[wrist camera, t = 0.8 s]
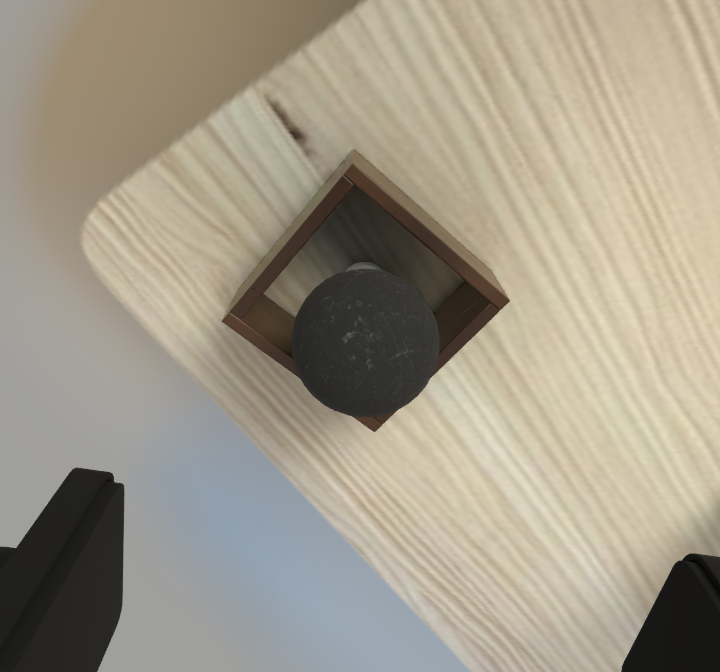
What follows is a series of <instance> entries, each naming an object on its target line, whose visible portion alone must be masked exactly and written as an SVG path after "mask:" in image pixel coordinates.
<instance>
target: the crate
mask: <svg viewBox="0 0 720 672" xmlns="http://www.w3.org/2000/svg"><path fill="white" fill-rule="evenodd" d="M354 184H355V185H356V186H357V187H358V188H360V189H361V190H362V191H363V192H364V193H365V194H366V195H368V196H369V197H370V198H371V199H372V200H373V201H375V202H376V203H377V204H378V205H379V206H380V207H381V208H383V209H384V210H385V211H386V212H387V213H388V214H390V215H391V216H392V217H393V218H394V219H395V220H396V221H398V222H399V223H400V224H401V225H402V226H403V227H405V228H406V229H407V230H408V231H409V232H410V233H412V234H413V235H414V236H415V237H416V238H417V239H418V240H420V241H421V242H422V243H423V244H424V245H425V246H427V247H428V248H429V249H430V250H431V251H432V252H433V253H435V254H436V255H437V256H438V257H439V258H440V259H442V260H443V261H444V262H445V263H446V264H447V265H448V266H450V267H451V268H452V269H453V270H454V271H455V272H457V273H458V274H459V275H460V276H461V277H462V278H464V279H465V280H466V282H465V283H464V284H463V285H462V286H461V287H460V288H459V289H458V290H457V291H456V292H455V293H454V294H453V295H452V296H451V297H450V298H449V299H448V300H447V301H446V302H445V303H444V304H443V305H442V306H441V307H440V308H439V309H438V310H437V311H436V312H435V313H434V317H435V319H436V322H437V326H438V333H439V340H440V341H439V355H438V359H437V364H436V368H435V370H434V372H433V374H432V376H433V375H434V374H435V373H436V372H437V371H438V370H439V369H440V368H441V367H443V366H444V365H445V364H446V363H447V362H448V361H449V360H450V359H451V358H452V357H453V356H454V355H455V354H456V353H457V352H458V351H459V350H460V349H461V348H462V347H463V346H464V345H465V344H466V343H467V342H468V341H469V340H470V339H471V338H472V337H473V336H475V335H476V334H477V333H478V332H479V331H480V330H481V329H482V328H483V327H484V326H485V325H486V324H487V323H488V322H489V321H490V320H491V319H492V318H493V317H494V316H495V315H496V314H497V313H498V312H499V311H500V310H501V309H502V308H503V307H504V306H505V305H506V304H507V303H508V302H509V301H510V300H509V298H508V296H507V295H506V293H505V291H504V290H503V288H502V287H501V285H500V283H499V282H498V280H497V278H496V277H495V275H494V274H493V272H492V270H491V269H489V268H488V267H487V266H486V265H485V264H484V263H483V262H482V261H480V260H479V259H478V258H477V257H476V256H475V255H474V254H473V253H471V252H470V251H469V250H468V249H467V248H466V247H465V246H464V245H462V244H461V243H460V242H459V241H458V240H457V239H456V238H455V237H453V236H452V235H451V234H450V233H449V232H448V231H447V230H446V229H444V228H443V227H442V226H441V225H440V224H439V223H438V222H436V221H435V220H434V219H433V218H432V217H431V216H430V215H429V214H427V213H426V212H425V211H424V210H423V209H422V208H421V207H420V206H418V205H417V204H416V203H415V202H414V201H413V200H412V199H411V198H409V197H408V196H407V195H406V194H405V193H404V192H403V191H402V190H400V189H399V188H398V187H397V186H396V185H395V184H394V183H392V182H391V181H390V180H389V179H388V178H387V177H386V176H385V175H383V174H382V173H381V172H380V171H379V170H378V169H377V168H376V167H374V166H373V165H372V164H371V163H370V162H369V161H368V160H367V159H365V158H364V157H363V156H362V155H361V154H360V153H359V152H358V151H356V150H355V149H353V150H352V151H351V153H350V154H349V155H348V156H347V157H346V160H344V161H343V162H342V163H341V165H340V166H339V167H338V168H337V170H336V171H335V172H334V173H333V174H332V176H331V177H330V178H329V179H328V181H327V182H326V183H325V184H324V185H323V187H322V188H321V189H320V190H319V191H318V193H317V194H316V195H315V196H314V198H313V199H312V200H311V201H310V202H309V204H308V205H307V206H306V207H305V208H304V210H303V211H302V212H301V213H300V215H299V216H298V217H297V218H296V219H295V221H294V222H293V223H292V224H291V226H290V227H289V228H288V229H287V230H286V232H285V233H284V234H283V235H282V236H281V238H280V239H279V240H278V241H277V243H276V244H275V245H274V246H273V247H272V249H271V250H270V251H269V252H268V253H267V255H266V256H265V257H264V258H263V260H262V261H261V262H260V263H259V264H258V266H257V267H256V268H255V269H254V271H253V272H252V273H251V274H250V275H249V277H248V278H247V279H246V280H245V282H244V283H243V284H242V285H241V286H240V288H239V289H238V291H237V293H236V295H235V296H234V298H233V300H232V302H231V304H230V306H229V308H228V310H227V312H226V314H225V316H224V318H223V320H222V322H223V323H225V324H226V325H227V326H229V327H230V328H231V329H233V330H234V331H236V332H237V333H238V334H240V335H241V336H242V337H244V338H245V339H247V340H248V341H249V342H251V343H252V344H253V345H255V346H256V347H258V348H259V349H260V350H262V351H263V352H264V353H266V354H267V355H269V356H270V357H271V358H273V359H274V360H276V361H277V362H278V363H280V364H281V365H282V366H284V367H285V368H287V369H288V370H289V371H291V372H292V373H293V374H295V375H296V376H298V377H299V378H300V376H299V374H298V372H297V370H296V366H295V363H294V359H293V355H292V332H293V328H294V322H295V320H296V319H295V318H293V317H292V316H291V315H290V314H288V313H287V312H286V311H284V310H283V309H282V308H280V307H279V306H278V305H276V304H275V303H274V302H272V301H271V300H270V299H268V298H267V297H266V296H264V295H263V293H264V292H265V291H266V289H267V288H268V287H269V286H270V285H271V283H272V282H273V281H274V280H275V279H276V277H277V276H278V275H279V274H280V273H281V272H282V270H283V269H284V268H285V267H286V266H287V264H288V263H289V262H290V261H291V260H292V258H293V257H294V256H295V255H296V254H297V253H298V251H299V250H300V249H301V248H302V247H303V245H304V244H305V243H306V242H307V241H308V240H309V238H310V237H311V236H312V235H313V234H314V232H315V231H316V230H317V229H318V228H319V226H320V225H321V224H322V223H323V222H324V221H325V219H326V218H327V217H328V216H329V215H330V213H331V212H332V211H333V210H334V209H335V207H336V206H337V205H338V204H339V203H340V202H341V200H342V199H343V198H344V197H345V196H346V194H347V193H348V192H349V191H350V190H351V189H352V187H353V186H354ZM499 309H500V310H499ZM432 376H431V377H432ZM300 379H301V378H300ZM396 411H397V410H396ZM396 411H395V412H396ZM395 412H392V413H388V414H385V415H380V416H376V417H354V418H355V419H357V420H358V421H360V422H361V423H362V424H364V425H365V426H366V427H368V428H369V429H371V430H372V431H373V432H375V431H376V430H377V429H379V428H380V427H381V426H382V424H384V423H385V422H386V421H387V420H388V419H389V418H390V417H391V416H392V415H393V414H394V413H395Z"/></svg>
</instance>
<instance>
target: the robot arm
mask: <svg viewBox="0 0 720 672" xmlns="http://www.w3.org/2000/svg"><path fill="white" fill-rule="evenodd" d="M123 534H124V485H123V484H121V483H115V482H114V476H113V474H112V473H110V472H104V471H96V470H90V469H83V468H75V469H73V470H72V471H71V472H70V473H69V475H68V476H67V477H66V479H65V480H64V482H63V483H62V485H61V486H60V487H59V489H58V490H57V492H56V493H55V494H54V496H53V497H52V498H51V500H50V501H49V503H48V504H47V506H46V507H45V509H44V510H43V511H42V513H41V514H40V516H39V517H38V518H37V520H36V521H35V523H34V524H33V525H32V527H31V528H30V530H29V531H28V533H27V534H26V535H25V537H24V538H23V539H22V541H21V542H20V544H19V545H18V546H17V548H10V547H0V672H97V671H98V668H99V666H100V664H101V661H102V659H103V657H104V654H105V652H106V650H107V648H108V645H109V643H110V641H111V638H112V636H113V634H114V631H115V629H116V626H117V624H118V621H119V617H120V613H121V609H122V596H123V595H122V594H123V537H124V535H123ZM621 672H720V557H716V556H708V555H701V554H688V555H687V556H685V557H684V559H683V560H682V561H678V562H676V563H675V565H674V566H673V568H672V570H671V572H670V574H669V576H668V578H667V580H666V582H665V584H664V586H663V587H662V589H661V591H660V593H659V595H658V597H657V599H656V601H655V603H654V605H653V607H652V609H651V611H650V613H649V615H648V617H647V618H646V620H645V622H644V624H643V626H642V628H641V630H640V632H639V634H638V636H637V638H636V640H635V642H634V644H633V646H632V648H631V650H630V651H629V653H628V655H627V657H626V659H625V661H624V663H623V666H622V671H621Z"/></svg>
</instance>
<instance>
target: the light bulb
mask: <svg viewBox="0 0 720 672" xmlns="http://www.w3.org/2000/svg"><path fill="white" fill-rule="evenodd" d="M439 341H440V340H439V333H438V326H437V322H436V319H435V317H434V314H433V312H432V309H431V308H430V306H429V304H428V303H427V301H426V300H425V299H424V297H423V296H422V295H421V293H420V292H419V291H418V290H417V289H416V288H414V287H413V286H412V285H411V284H410V283H409V282H407V281H405V280H404V279H402V278H401V277H399V276H396V275H393V274H391V273H389V272H386V271H384V270H383V269H382V268H381V267H380V266H378V265H376V264H374V263H371V262H358V263H355V264H353V265H351V266H349V267H348V268H347V269H346V270H345V271H344V272H343V273H340V274H337V275H335V276H333V277H331V278H329V279H327V280H325V281H324V282H323V283H321V284H320V285H319V286H318V287H316V288H315V289H314V290H313V291H312V292H311V294H310V295H309V296H308V297H307V298H306V300H305V301H304V303H303V305H302V307H301V308H300V310H299V312H298V314H297V316H296V320H295V322H294V328H293V332H292V355H293V359H294V363H295V366H296V370H297V372H298V374H299V376H300V378H301V380H302V382H303V384H304V386H305V387H306V388H307V389H308V390H309V392H310V393H311V394H312V395H313V396H314V397H315V398H316V399H318V400H319V401H320V402H321V403H322V404H324V405H326V406H327V407H329V408H331V409H333V410H335V411H338V412H341V413H344V414H347V415H350V416H353V417H376V416H380V415H385V414H388V413H392V412H395V411H396V410H398V409H400V408H402V407H403V406H405V405H407V404H409V403H410V402H411V401H412V400H413V399H414V398H416V397H417V396H418V395H419V394H420V393H421V391H422V390H423V389H424V388H425V386H426V385H427V383H428V381H429V380H430V378H431V376H432V374H433V372H434V370H435V368H436V364H437V359H438V355H439Z"/></svg>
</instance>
